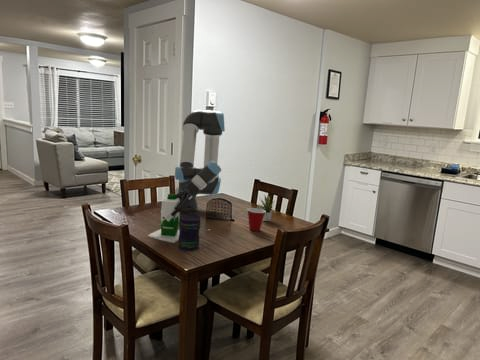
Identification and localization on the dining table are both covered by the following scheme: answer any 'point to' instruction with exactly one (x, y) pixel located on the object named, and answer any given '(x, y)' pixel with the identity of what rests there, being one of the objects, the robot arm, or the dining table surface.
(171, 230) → the soya milk
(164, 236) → the plate
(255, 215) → the plastic cup
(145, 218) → the dining table surface
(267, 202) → the house plant
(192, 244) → the storage jar
